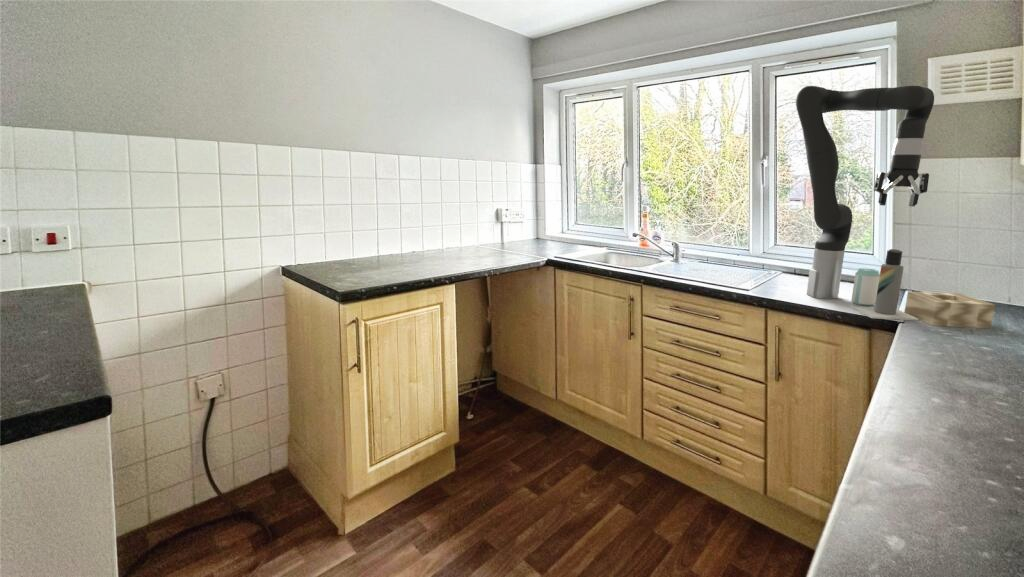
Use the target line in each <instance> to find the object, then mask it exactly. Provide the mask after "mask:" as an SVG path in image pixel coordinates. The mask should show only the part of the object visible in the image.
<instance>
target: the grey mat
mask: <svg viewBox="0 0 1024 577" xmlns="http://www.w3.org/2000/svg"><path fill="white" fill-rule="evenodd" d="M852 309H853V310H855V311H857V312H859V313H860V314H863V315H864V316H867V317H868V318H870V319H876V320H877V319H879V320H895V319H900V320H901V321H919V319H918V318H915V317H913V316H911V315H909V314H907V313H904V312H905V311H902V310H899V309H898V308H897V310H896V314H893V315H889V314H881V313H877V312H875V307H868V306H852ZM885 318H886V319H885ZM900 320H899V321H900Z"/></svg>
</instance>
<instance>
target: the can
mask: <svg viewBox="0 0 1024 577" xmlns="http://www.w3.org/2000/svg"><path fill="white" fill-rule="evenodd" d="M879 277H880V272H879V270H878V269H874V268H866V267H864V268H862V267H861V268H857V271H856V272H855V275H854V280H853V286H852V293H851V300H850V301H851V302H852V303H853V304H854V305H857V306H861V307H873V306H875V302H876V296H877V290H878V283H879Z"/></svg>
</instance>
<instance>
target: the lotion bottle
mask: <svg viewBox="0 0 1024 577" xmlns="http://www.w3.org/2000/svg"><path fill="white" fill-rule="evenodd" d="M902 259H903V250H900V249H893V248H891V249H888V250H887V251H886V257H885V260H884V261H885V263H883V264H881V265H880V271H879V274H880V277H879V283H878V290H877V296H876V302H875V305H874V308H875V312H877V313H881V314H889V315H893V314H896V310H897V309H898V302H899V298H900V292H901V286H902V280H903V274H904V266H903V265H901V264H902Z"/></svg>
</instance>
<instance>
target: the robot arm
mask: <svg viewBox="0 0 1024 577" xmlns="http://www.w3.org/2000/svg"><path fill="white" fill-rule="evenodd" d="M934 104H935V94H934V91H933V90H932V89H930V88H929V87H925V86H921V85H905V86H904V85H903V86H897V87H871V88H870V87H869V88H863V89H858V90H857V89H856V90H846V91H844V90H835V89H834V90H833V89H828V88H825V87H822V86H816V85H806V86H804V87H802V88H801V89H800V90H799V91H798V92H797V95H796V98H795V108H796V111H797V115H798V118H799V122H800V126H801V130H802V134H803V142H804V146H805V147H804V148H805V154H806V161H807V167H808V170H809V177H810V178H809V179H810V184H811V189H812V190H811V191H812V199H813V218H814V222H815V225H816V226H817V227H818V228H819V229H820V230H822V232H821V235H820V236H819V238H818V239H817V240H816V241H815V244H814V251H813V252H814V253H813V260H812V265H811V266H812V267H811V268H810V269H809V273H808V281H807V289H806V295H808V296H810V297H811V298H819V299H827V300H834V299H838V298H839V293H840V284H841V277H842V272H843V271H842V270H843V264H844V256H845V251H846V246H847V244H848V242H849V239H850V235H851V229H852V224H853V212H852V210H851V207H849V206H848V205H847V204H843V203H838V198H837V193H836V182H837V178H838V173H839V168H840V167H839V165H840V164H839V163H840V162H839V157H838V151H837V146H836V143H835V141H834V139H833V137H832V135H831V133H830V132H829V129H828V128H827V126H826V124H825V120H824V115H823V114H826V113H831V112H840V111H858V112H860V111H861V112H866V111H867V112H882V111H883V112H885V111H890V110H899V111H900V110H902V111H905V114H904V117H903V119H902V120H900V121H899V123H898V124H897V129H896V134H895V135H896V136H895V139H894V143H893V146H892V150H891V158H890V163H889V170H888V172H883V171H882V172H877V173H876V178H875V183H874V187H873V192H877V193H878V194H879V196H878V201H877V202H878V204H879V206H886V204H887V200H888V199H887V197H888V192H889V191H890V190H891V189H893V188H894V187H903V188H905V187H907V188H908V189H909V190H910V193H911V194H910V198H909V202H908V203H909V204H908V206H909V207H916V205H918V203H919V202H918V201H919V196H920V195H921V194H924V193H927V192H928V189H929V188H928V187H929V179H930V178H929V177H930V173H927V172H924V173H923V172H922V173H919V172H918V171H919V170H920V169H919V168H920V163H921V159H922V158H921V157H922V152H923V147H924V137H925V132H926V124H927V122H928V119H930V114H931V112H932V110H933V106H934ZM886 178H887V179H888V181H887V182H886V183H885V184H884V180H885V179H886ZM917 179H918V181H919V186H918V184H917V183H916V180H917Z"/></svg>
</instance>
